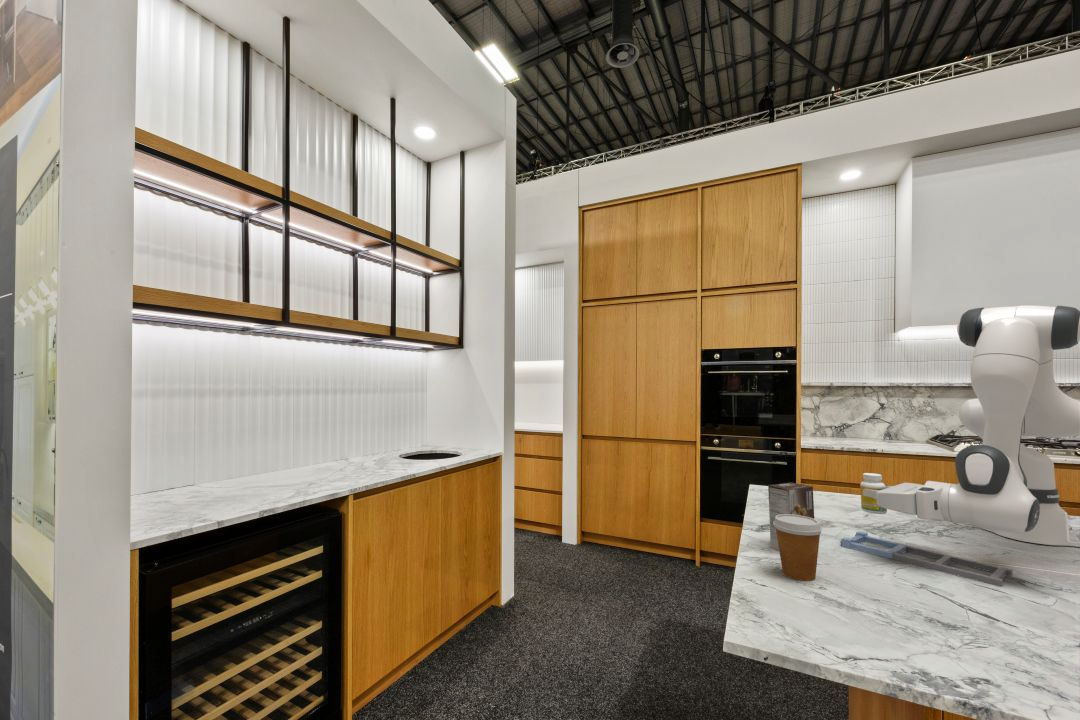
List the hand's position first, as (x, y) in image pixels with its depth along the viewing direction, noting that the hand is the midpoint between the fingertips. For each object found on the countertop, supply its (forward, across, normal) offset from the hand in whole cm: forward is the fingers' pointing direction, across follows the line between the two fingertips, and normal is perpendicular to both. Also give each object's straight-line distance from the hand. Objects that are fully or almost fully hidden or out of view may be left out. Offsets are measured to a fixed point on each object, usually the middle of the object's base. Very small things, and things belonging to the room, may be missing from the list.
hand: (869, 490), depth 118 cm
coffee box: (+11, +18, +15) cm, 26 cm away
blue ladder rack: (-10, 0, +15) cm, 18 cm away
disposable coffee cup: (+2, +34, +15) cm, 37 cm away
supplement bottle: (-1, 0, +6) cm, 6 cm away
